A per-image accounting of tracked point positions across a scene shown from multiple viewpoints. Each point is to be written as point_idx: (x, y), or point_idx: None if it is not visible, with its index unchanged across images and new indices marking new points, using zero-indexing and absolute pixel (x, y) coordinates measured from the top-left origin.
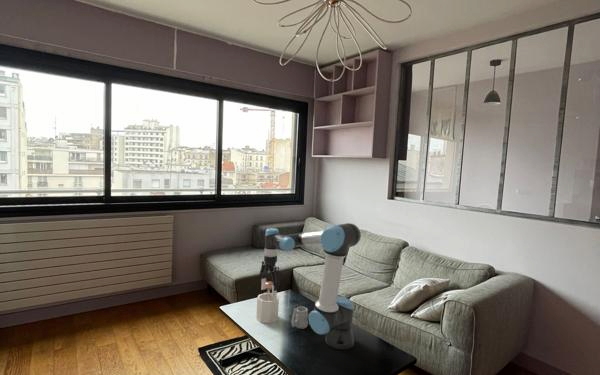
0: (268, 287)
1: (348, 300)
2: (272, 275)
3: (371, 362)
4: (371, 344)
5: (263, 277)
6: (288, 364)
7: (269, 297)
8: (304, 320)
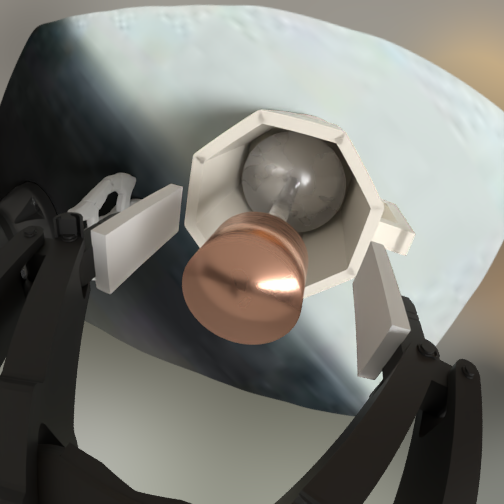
0: (220, 226)
1: None
2: (15, 337)
3: None
4: None
5: (395, 365)
6: (45, 27)
7: (321, 263)
8: None
